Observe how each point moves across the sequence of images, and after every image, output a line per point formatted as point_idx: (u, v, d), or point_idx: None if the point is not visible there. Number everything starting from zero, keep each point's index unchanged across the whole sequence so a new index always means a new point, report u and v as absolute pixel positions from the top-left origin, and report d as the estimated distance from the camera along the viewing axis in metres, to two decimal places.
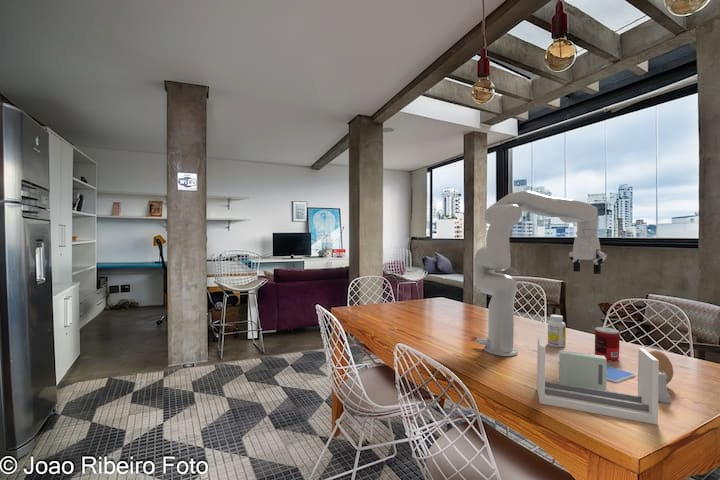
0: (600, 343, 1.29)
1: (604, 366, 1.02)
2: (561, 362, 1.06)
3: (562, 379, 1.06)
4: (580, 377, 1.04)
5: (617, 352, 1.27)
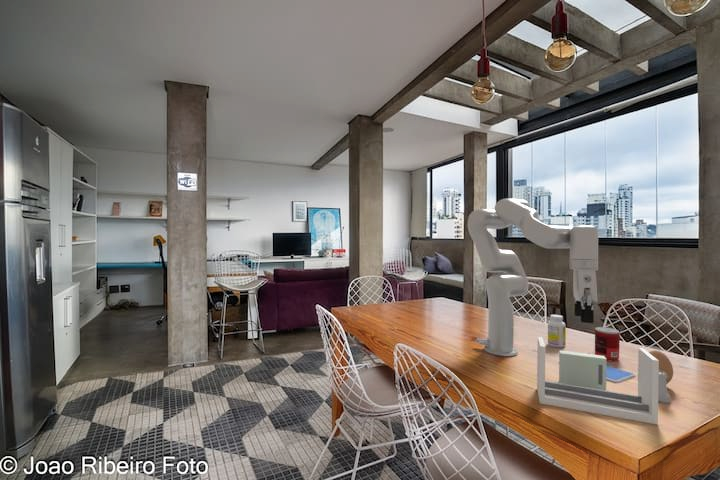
0: (600, 343, 1.29)
1: (604, 366, 1.02)
2: (561, 362, 1.06)
3: (562, 379, 1.06)
4: (580, 377, 1.04)
5: (617, 352, 1.27)
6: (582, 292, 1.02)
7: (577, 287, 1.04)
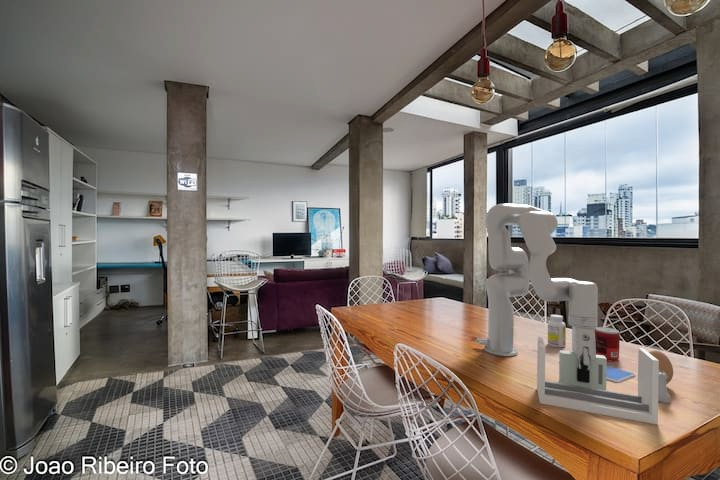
0: (600, 343, 1.29)
1: (604, 366, 1.02)
2: (561, 362, 1.06)
3: (562, 379, 1.06)
4: None
5: (617, 352, 1.27)
6: (580, 351, 1.01)
7: (576, 344, 1.03)
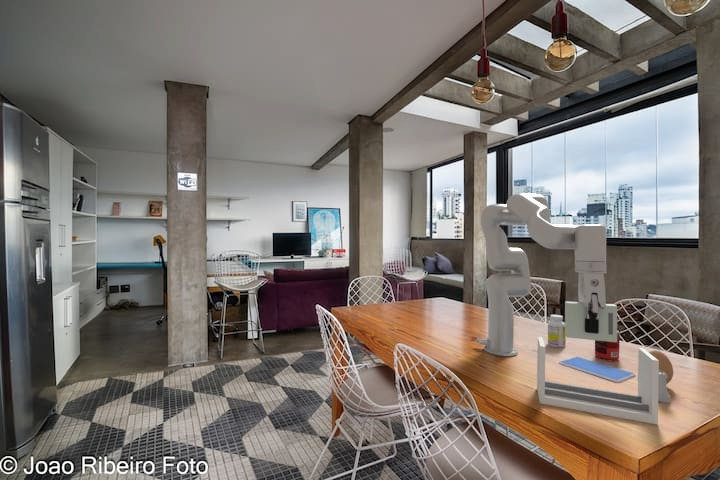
0: (600, 343, 1.29)
1: (615, 314, 0.93)
2: (567, 313, 0.98)
3: (568, 332, 0.97)
4: None
5: (617, 352, 1.27)
6: (589, 297, 0.93)
7: (583, 292, 0.94)
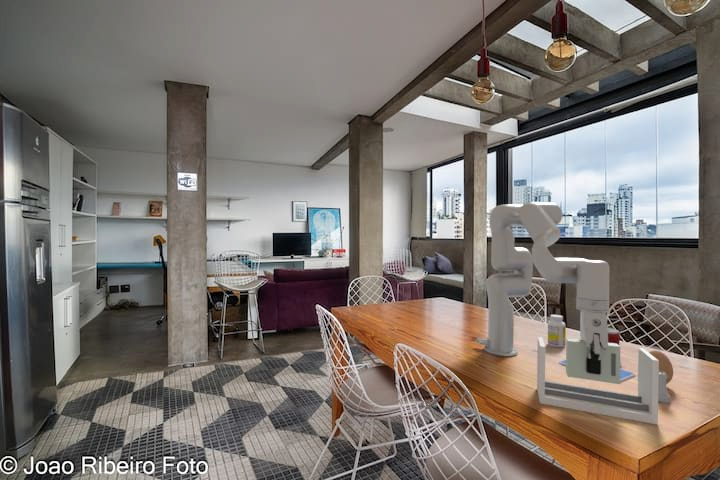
0: None
1: (618, 355, 0.90)
2: (568, 351, 0.94)
3: (569, 371, 0.94)
4: None
5: None
6: (591, 338, 0.89)
7: (585, 331, 0.91)
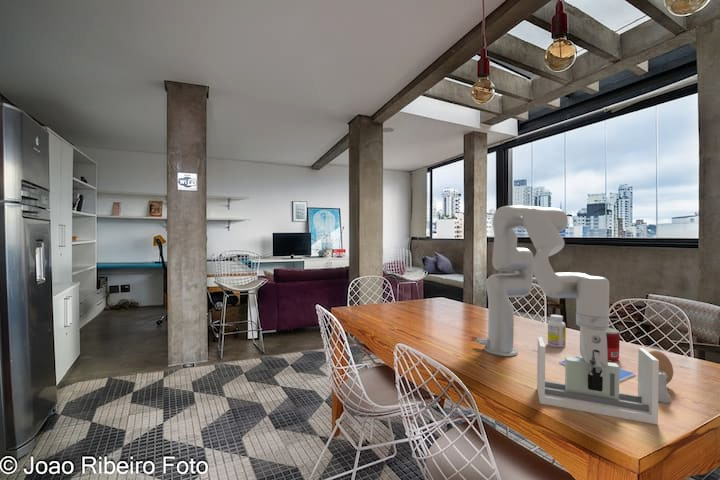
0: None
1: (617, 375, 0.90)
2: (567, 370, 0.95)
3: (568, 390, 0.94)
4: None
5: (617, 352, 1.27)
6: (590, 354, 0.89)
7: (584, 347, 0.91)
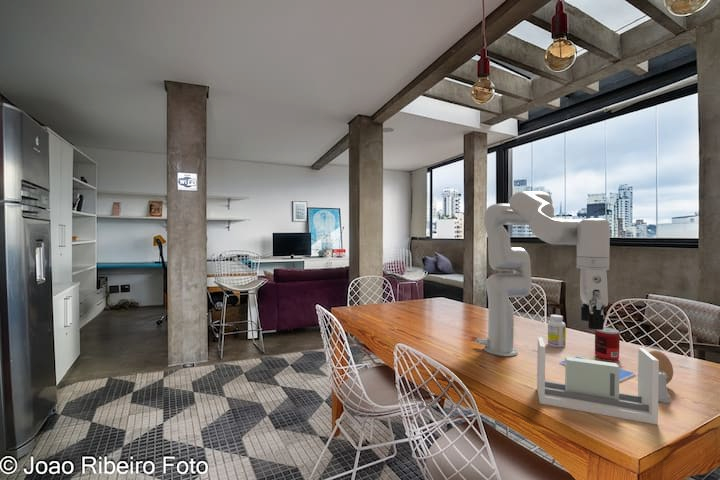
0: (600, 343, 1.29)
1: (617, 375, 0.90)
2: (567, 370, 0.95)
3: (568, 390, 0.94)
4: (589, 387, 0.92)
5: (617, 352, 1.27)
6: (590, 294, 0.89)
7: (585, 289, 0.91)
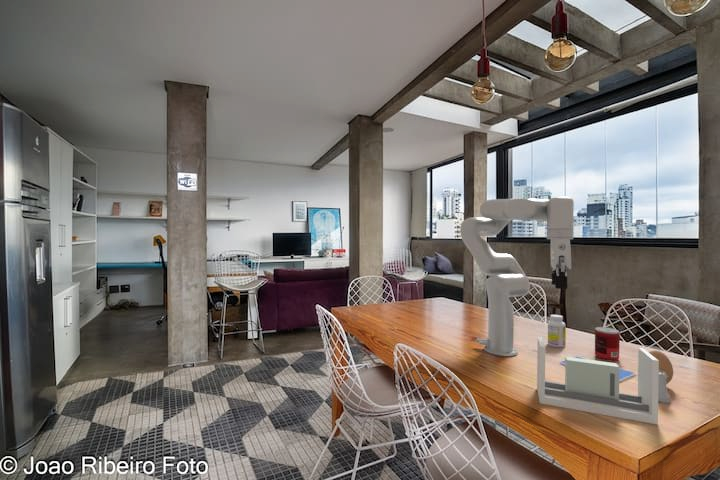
0: (600, 343, 1.29)
1: (617, 375, 0.90)
2: (567, 370, 0.95)
3: (568, 390, 0.94)
4: (589, 387, 0.92)
5: (617, 352, 1.27)
6: (557, 260, 1.07)
7: (553, 255, 1.09)
